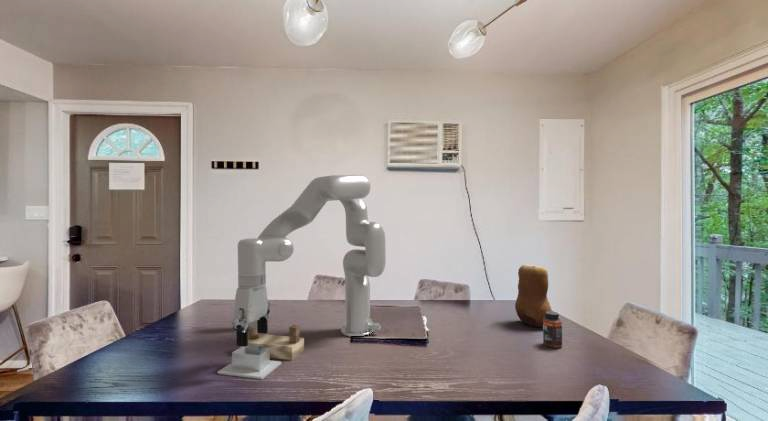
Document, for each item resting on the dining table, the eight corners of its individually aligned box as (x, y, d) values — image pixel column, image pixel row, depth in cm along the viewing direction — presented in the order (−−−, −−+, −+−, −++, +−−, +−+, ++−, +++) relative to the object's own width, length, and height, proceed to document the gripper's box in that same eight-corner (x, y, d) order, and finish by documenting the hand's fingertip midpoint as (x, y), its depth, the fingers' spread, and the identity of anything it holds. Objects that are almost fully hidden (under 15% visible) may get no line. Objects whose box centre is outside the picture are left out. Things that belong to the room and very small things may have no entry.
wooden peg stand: (303, 350, 111) (304, 322, 111) (292, 360, 103) (292, 330, 103) (255, 345, 115) (256, 318, 115) (240, 354, 107) (241, 326, 107)
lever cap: (269, 364, 99) (269, 344, 99) (259, 371, 94) (260, 351, 94) (242, 361, 101) (243, 342, 101) (231, 368, 96) (232, 348, 96)
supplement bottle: (564, 345, 116) (564, 312, 116) (559, 350, 111) (559, 316, 112) (546, 340, 120) (546, 309, 120) (540, 345, 116) (540, 312, 116)
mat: (281, 363, 100) (281, 361, 100) (261, 379, 91) (261, 377, 91) (240, 358, 103) (240, 357, 103) (217, 373, 94) (217, 371, 94)
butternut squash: (553, 323, 140) (553, 263, 140) (549, 332, 128) (549, 267, 129) (518, 318, 147) (518, 261, 147) (511, 326, 136) (511, 264, 136)
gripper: (258, 274, 107) (258, 328, 107) (220, 287, 90) (221, 350, 90) (279, 275, 105) (280, 329, 105) (244, 288, 88) (245, 352, 88)
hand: (252, 339), depth 98 cm, fingers open, 9 cm apart
